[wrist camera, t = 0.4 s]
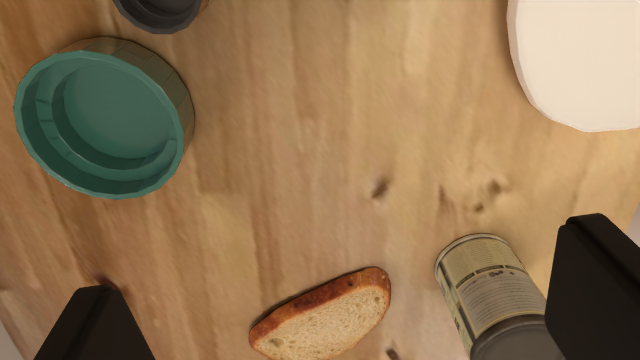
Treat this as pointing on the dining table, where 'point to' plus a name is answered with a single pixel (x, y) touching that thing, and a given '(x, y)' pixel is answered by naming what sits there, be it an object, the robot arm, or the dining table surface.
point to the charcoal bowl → (161, 14)
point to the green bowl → (105, 118)
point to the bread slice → (325, 318)
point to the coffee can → (494, 301)
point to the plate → (579, 60)
